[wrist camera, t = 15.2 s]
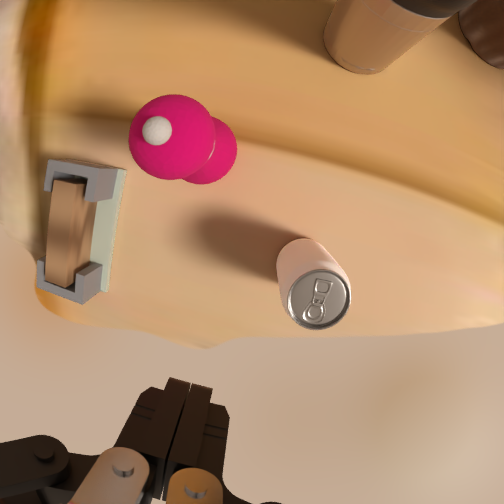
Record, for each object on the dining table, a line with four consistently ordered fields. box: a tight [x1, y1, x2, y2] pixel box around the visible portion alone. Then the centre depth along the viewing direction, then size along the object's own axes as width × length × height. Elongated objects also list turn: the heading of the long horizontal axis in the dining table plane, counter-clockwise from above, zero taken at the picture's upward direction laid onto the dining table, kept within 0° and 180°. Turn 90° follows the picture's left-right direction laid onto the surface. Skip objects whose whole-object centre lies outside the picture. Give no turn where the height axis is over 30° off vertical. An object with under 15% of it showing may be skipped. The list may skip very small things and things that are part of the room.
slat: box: [45, 178, 98, 288], centre depth 35 cm, size 12×3×6 cm, turn 166°
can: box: [276, 238, 351, 330], centre depth 33 cm, size 6×6×12 cm
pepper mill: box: [129, 95, 237, 184], centre depth 26 cm, size 7×7×20 cm
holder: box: [37, 159, 127, 305], centre depth 36 cm, size 16×9×6 cm, turn 166°
